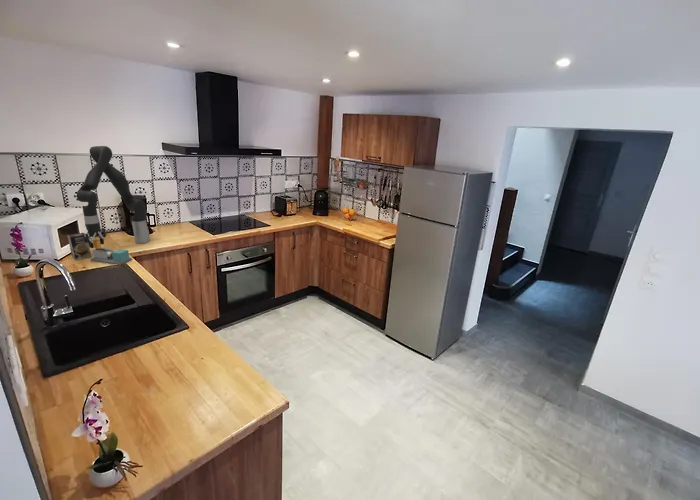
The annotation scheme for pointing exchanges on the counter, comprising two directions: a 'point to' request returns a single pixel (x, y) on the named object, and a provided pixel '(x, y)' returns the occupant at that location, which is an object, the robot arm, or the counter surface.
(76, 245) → the coffee box
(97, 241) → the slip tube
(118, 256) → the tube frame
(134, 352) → the counter surface
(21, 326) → the counter surface
